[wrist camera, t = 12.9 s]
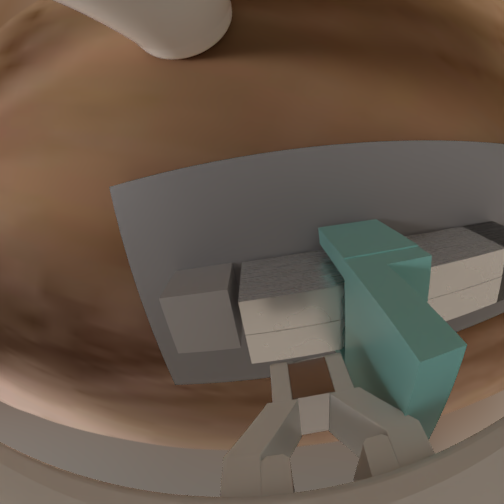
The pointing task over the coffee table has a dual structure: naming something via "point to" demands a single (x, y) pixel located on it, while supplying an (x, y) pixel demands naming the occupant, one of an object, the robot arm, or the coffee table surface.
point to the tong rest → (283, 230)
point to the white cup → (162, 23)
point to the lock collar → (393, 320)
